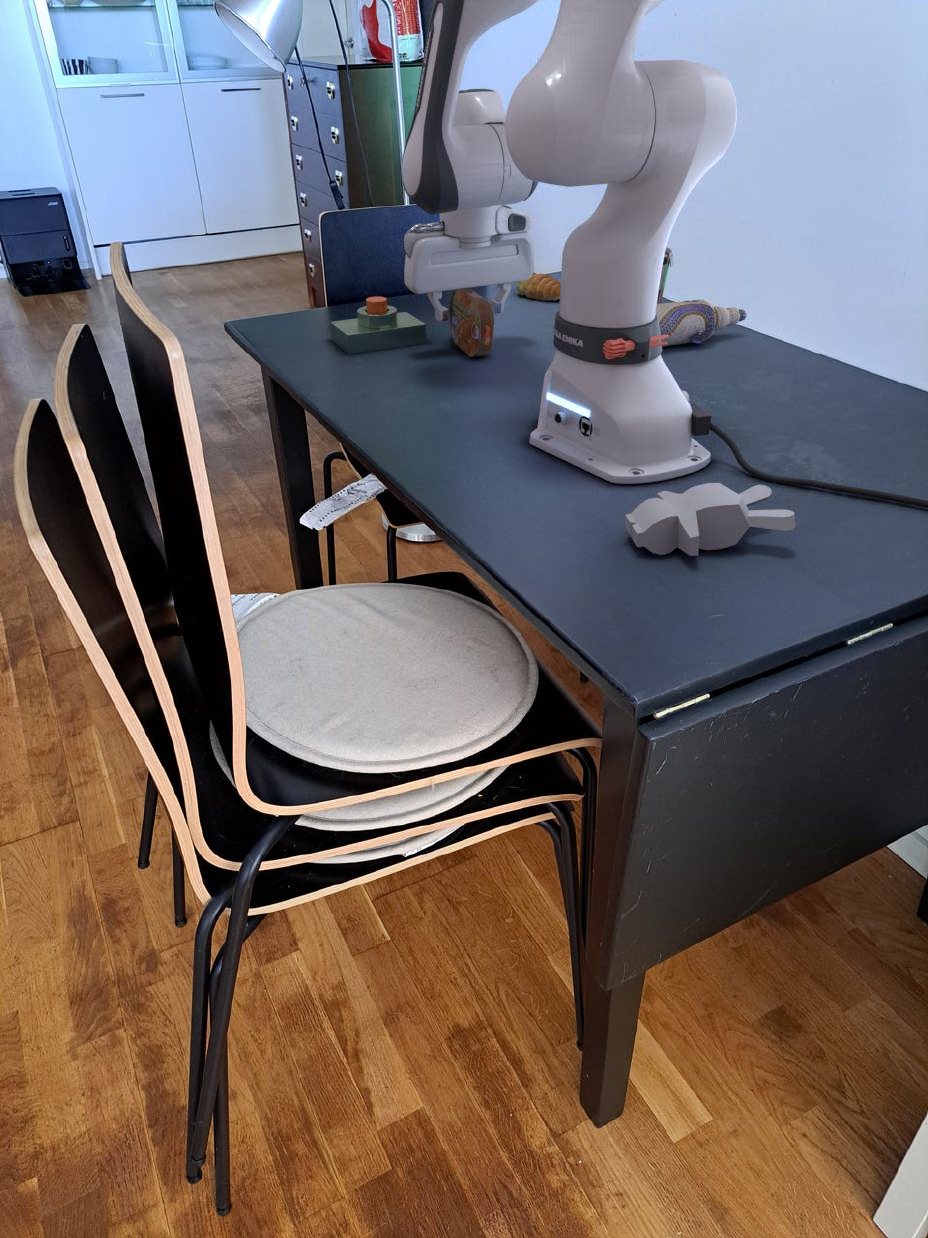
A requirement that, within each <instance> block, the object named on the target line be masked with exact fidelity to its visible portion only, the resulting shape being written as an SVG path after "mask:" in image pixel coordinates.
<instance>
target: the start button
mask: <svg viewBox="0 0 928 1238" xmlns="http://www.w3.org/2000/svg"><path fill="white" fill-rule="evenodd" d="M365 303H366V305H365V306H367V312H368V313H385V312H387V305H388V298H387V297H384V296H369V297H367V298H366V299H365Z"/></svg>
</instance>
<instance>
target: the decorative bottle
mask: <svg viewBox="0 0 928 1238" xmlns="http://www.w3.org/2000/svg"><path fill="white" fill-rule="evenodd" d="M656 315H657V317H658V319H659V326H660V329H661V335H666V334H668V335H669V337H667V338H665V339H663V340H661V342H667V343H668V344H667V345H662V348H663V347H669V346H679V345H684V344H685V345H686V344H691V343H694V344H699V345H700V344H702V343H703V342H704V341H707V340H708V339H709V338H711V337H712V335H713V334H714V333H715V331H716V332H717V331H719V330H722V329H724V328H726V327H733V326H736V325H737V324H738V323H739V322H742V321H745V320H746V318H747V311H745V310H744V309H742V308H737V307H724V306H723V307H722V306H713V304H712V303H710V302H709V301H707V300H705V299H692V300H683V301H671V302H661V304H657V307H656Z"/></svg>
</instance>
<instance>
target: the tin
mask: <svg viewBox="0 0 928 1238" xmlns="http://www.w3.org/2000/svg"><path fill="white" fill-rule="evenodd" d="M450 297H451V298H450V302H449V309H448V311H449V314H448V317H449V319H448V320H449V329H450V334H451V338H452V340H453V343H454V344H455V345H456V346H457V347H459V348H460V350H462V351H463V352H464V353H465V354H466V355H467V356H468V357H469V358H474V357H486V356H488V355H489V354H490V352H491V351H492V349H493V345H494V344H493V343H494V342H493V340H494V328H495V327H494V326H495V314H494V313H493V310H492V307H491V305H490V301H489V300H487V299H486V298H485V297H483V296H482V295H480V294H479V293H477V292H476V291H475V290H473V289H471V288H464V289H456V290H452V294H451V296H450Z"/></svg>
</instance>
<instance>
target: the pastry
mask: <svg viewBox="0 0 928 1238" xmlns="http://www.w3.org/2000/svg"><path fill="white" fill-rule="evenodd" d="M560 287H561V281H559V280H558V279H555V278H553V277H552V275H549V274H545V273H537V272H533V274H532V276H531V277H530V279H529V280H527V281H519V282H517V285H516V291H518V293H519V294H520V295H521V296H526V297H527V298H530V299H535V300H537V301H538V300H540V301H544V302H546V301H557V300H560Z"/></svg>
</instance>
